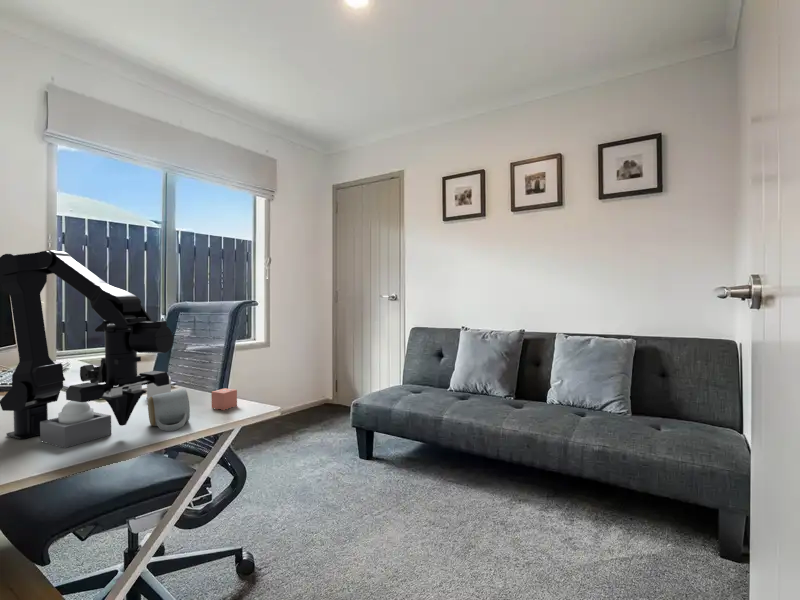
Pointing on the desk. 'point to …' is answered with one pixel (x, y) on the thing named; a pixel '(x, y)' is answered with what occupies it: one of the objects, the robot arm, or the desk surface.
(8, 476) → the desk surface
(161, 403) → the ceramic mug
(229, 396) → the salmon red block
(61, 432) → the dome base
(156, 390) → the white cube
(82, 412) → the dome
